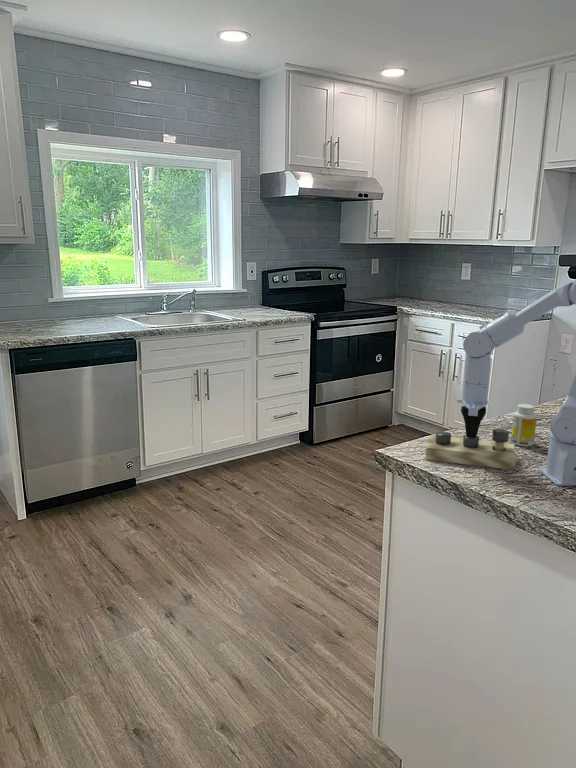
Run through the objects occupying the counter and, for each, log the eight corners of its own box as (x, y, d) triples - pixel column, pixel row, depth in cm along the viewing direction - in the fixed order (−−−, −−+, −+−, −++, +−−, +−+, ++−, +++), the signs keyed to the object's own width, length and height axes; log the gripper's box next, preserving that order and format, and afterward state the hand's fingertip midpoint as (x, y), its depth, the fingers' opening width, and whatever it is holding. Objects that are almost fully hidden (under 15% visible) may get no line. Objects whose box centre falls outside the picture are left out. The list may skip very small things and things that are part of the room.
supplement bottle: (537, 444, 149) (542, 406, 147) (526, 448, 146) (530, 410, 143) (517, 438, 153) (521, 401, 151) (506, 443, 150) (510, 405, 148)
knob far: (450, 452, 143) (451, 432, 141) (449, 457, 139) (450, 436, 138) (435, 450, 144) (436, 430, 143) (433, 455, 140) (435, 435, 139)
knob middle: (477, 455, 141) (479, 435, 139) (477, 460, 137) (479, 439, 136) (462, 453, 142) (463, 433, 140) (461, 458, 138) (463, 438, 137)
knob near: (506, 450, 138) (508, 429, 137) (507, 455, 135) (509, 434, 134) (490, 448, 139) (492, 428, 138) (490, 453, 136) (492, 432, 135)
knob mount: (512, 455, 141) (514, 443, 140) (514, 469, 132) (515, 457, 131) (429, 446, 147) (430, 435, 147) (425, 459, 138) (426, 447, 137)
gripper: (459, 374, 143) (455, 426, 146) (456, 387, 130) (452, 444, 133) (489, 376, 141) (484, 429, 144) (489, 390, 128) (484, 448, 131)
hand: (471, 436), depth 138 cm, fingers closed, pressing on knob middle
